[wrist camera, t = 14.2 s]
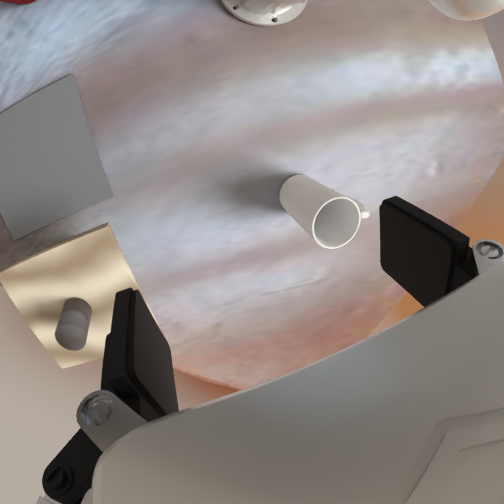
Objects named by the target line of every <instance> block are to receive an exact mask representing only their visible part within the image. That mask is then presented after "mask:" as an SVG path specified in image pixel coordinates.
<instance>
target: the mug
mask: <svg viewBox="0 0 504 504" xmlns="http://www.w3.org/2000/svg"><path fill="white" fill-rule="evenodd" d="M279 199H280V203H281V205H282V207H283V208H284V209H285V210H286V211H287V212H288V213H289V215H290V216H291V217H292V218H293V219H294V220H295V221H296V222H297V223H298V224H299V225H300V226H301V227H302V228H303V229H304V230H305V231H306V232H307V233H308V234H309V235H310V236H311V237H312V238H313V239H314V240H315V241H316V242H317V243H318V244H319V245H320V246H322V247H324V248H328V249H334V248H338V247H341V246H343V245H345V244H346V243H348V242H349V241H350V240H351V239H352V238H353V237H354V235H355V234H356V232H357V230H358V228H359V225H360V219H361V218H368V217H369V211H367V209H366V207H365V206H364V205H363V204H362V203H361V202H359V201H357V200H355V199H353V198H350V197H348V196H345V195H343V194H341V193H339V192H337V191H335V190H334V189H332V188H330V187H328V186H326V185H324V184H322V183H320V182H319V181H317V180H315V179H312V178H310V177H308V176H306V175H294V176H292V177H290V178H288V179H287V180H286V181H285V182H284V184H283V185H282V187H281V189H280V194H279Z"/></svg>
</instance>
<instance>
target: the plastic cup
mask: <svg viewBox="0 0 504 504" xmlns="http://www.w3.org/2000/svg"><path fill="white" fill-rule="evenodd" d="M0 1H1V2H7V3H16V4H29V3H32V2H34V1H36V0H0Z"/></svg>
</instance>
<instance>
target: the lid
mask: <svg viewBox="0 0 504 504" xmlns="http://www.w3.org/2000/svg"><path fill="white" fill-rule="evenodd" d="M0 282H1V284H2V285H3V287H4V289H5V290H6V292H7V293H8V295H9V297H10V298H11V300H12V301H13V303H14V304H15V306H16V307H17V309H18V310H19V312H20V313H21V315H22V316H23V318H24V319H25V321H26V322H27V324H28V325H29V326H30V328H31V329H32V331H33V332H34V333H35V335H36V336H37V337H38V339H39V340H40V341H41V342H42V344H43V345H44V347H45V348H46V349H47V350H48V352H49V353H50V354H51V355H52V357H53V358H54V359H55V360H56V362H57V363H58V364H59V365H60V366H61V368H67V367H70V366H74V365H78V364H81V363H85V362H89V361H92V360H96V359H100V358H103V357H104V348H105V340H106V336H107V335H108V334H109V333H110V331H111V323H112V315H113V308H114V301H115V295H116V292H118V291H121V290H124V289H127V288H130V287H131V288H132V289H133V290H137V289H138V290H139V291H140V293H141V295H142V297H143V299H144V301H145V303H146V305H147V306H148V304H147V302H146V300H145V298H144V296H143V294H142V292H141V290H140V288H139V286H138V284H137V282H136V280H135V278H134V276H133V274H132V272H131V270H130V268H129V266H128V264H127V262H126V260H125V257H124V255H123V253H122V251H121V249H120V247H119V244H118V242H117V240H116V238H115V236H114V233H113V231H112V229H111V226H110V224H109V222H108V223H105V224H103V225H100V226H98V227H95V228H93V229H90V230H88V231H85V232H83V233H81V234H78V235H76V236H73V237H71V238H69V239H66V240H64V241H61V242H59V243H57V244H55V245H52V246H50V247H48V248H45V249H43V250H41V251H39V252H36V253H34V254H32V255H30V256H28V257H25V258H23V259H21V260H19V261H17V262H15V263H13V264H10V265H8V266H6V267H4V268H2V269H0ZM148 308H149V306H148ZM149 310H150V308H149ZM150 312H151V310H150ZM151 314H152V316H153V317H154V315H153V313H152V312H151ZM154 319H155V317H154ZM155 321H156V319H155ZM156 323H157V321H156ZM157 325H158V323H157ZM158 326H159V325H158ZM159 328H160V326H159ZM160 330H161V328H160ZM161 332H162V330H161ZM162 334H163V332H162Z"/></svg>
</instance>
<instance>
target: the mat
mask: <svg viewBox="0 0 504 504" xmlns="http://www.w3.org/2000/svg"><path fill="white" fill-rule="evenodd" d="M112 196H113V193H112V190H111V187H110V185H109V182H108V180H107V177H106V174H105V172H104V169H103V166H102V163H101V161H100V158H99V155H98V152H97V149H96V146H95V144H94V141H93V138H92V135H91V132H90V129H89V125H88V122H87V119H86V116H85V113H84V110H83V106H82V103H81V100H80V96H79V93H78V89H77V86H76V82H75V78H74V75H73V74H71V75H69V76H67V77H65V78H63V79H61V80H59V81H57V82H55V83H53V84H51V85H49V86H47V87H45V88H43V89H41V90H39V91H38V92H36V93H34V94H32V95H30V96H29V97H27V98H25V99H23V100H22V101H20V102H18V103H17V104H15V105H13V106H12V107H10V108H9V109H7V110H5V111H4V112H2V113H1V114H0V213H1V216H2V218H3V220H4V222H5V224H6V226H7V228H8V231H9V233H10V235H11V237H12V239H13V241H15V240H17V239H19V238H21V237H23V236H25V235H27V234H29V233H31V232H33V231H35V230H37V229H39V228H42V227H44V226H46V225H48V224H50V223H52V222H54V221H56V220H59V219H61V218H63V217H65V216H67V215H70V214H72V213H74V212H77V211H79V210H81V209H83V208H86V207H88V206H90V205H93V204H95V203H98V202H100V201H102V200H105V199H107V198H110V197H112Z"/></svg>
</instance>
